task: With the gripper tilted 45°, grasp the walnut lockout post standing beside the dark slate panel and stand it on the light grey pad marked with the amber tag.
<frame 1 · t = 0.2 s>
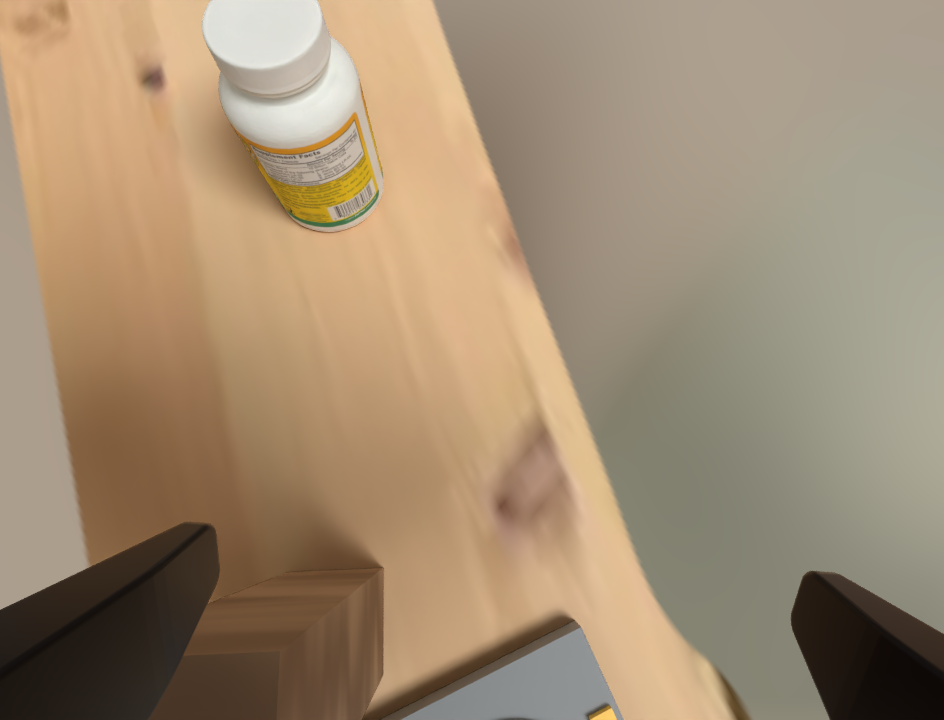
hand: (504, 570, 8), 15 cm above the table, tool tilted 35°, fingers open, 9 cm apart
lockout post: (334, 622, 21), on the table
supplement bottle: (334, 190, 27), on the table
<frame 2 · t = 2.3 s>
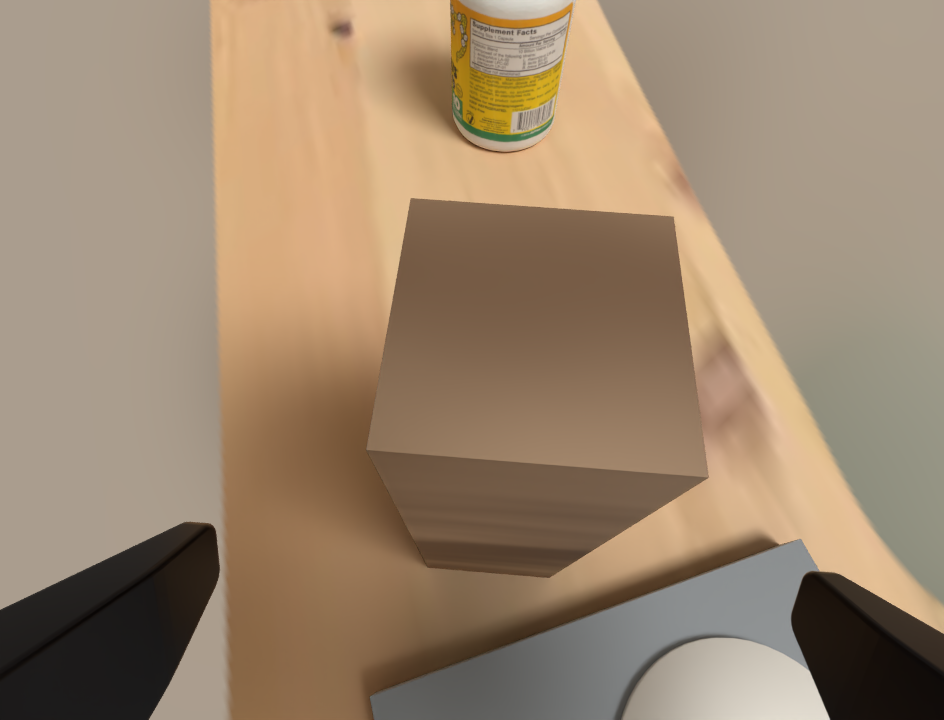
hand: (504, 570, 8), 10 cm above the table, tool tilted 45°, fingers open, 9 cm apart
lockout post: (491, 510, 18), on the table
supplement bottle: (502, 122, 28), on the table
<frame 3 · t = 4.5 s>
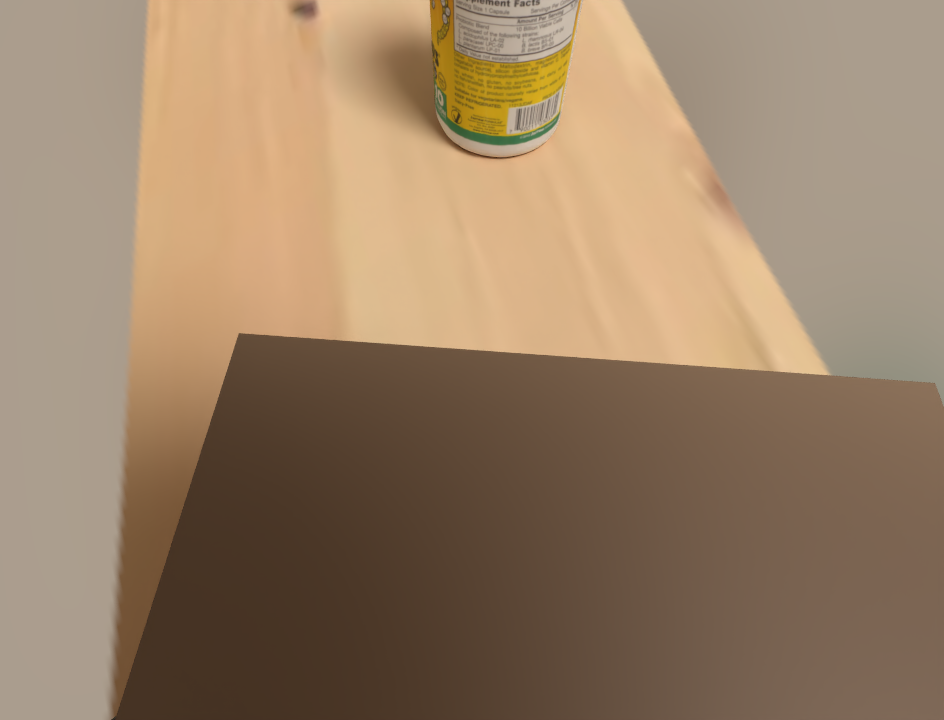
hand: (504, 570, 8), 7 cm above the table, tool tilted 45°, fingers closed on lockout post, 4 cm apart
lockout post: (482, 655, 13), on the table, touching gripper
supplement bottle: (497, 121, 23), on the table
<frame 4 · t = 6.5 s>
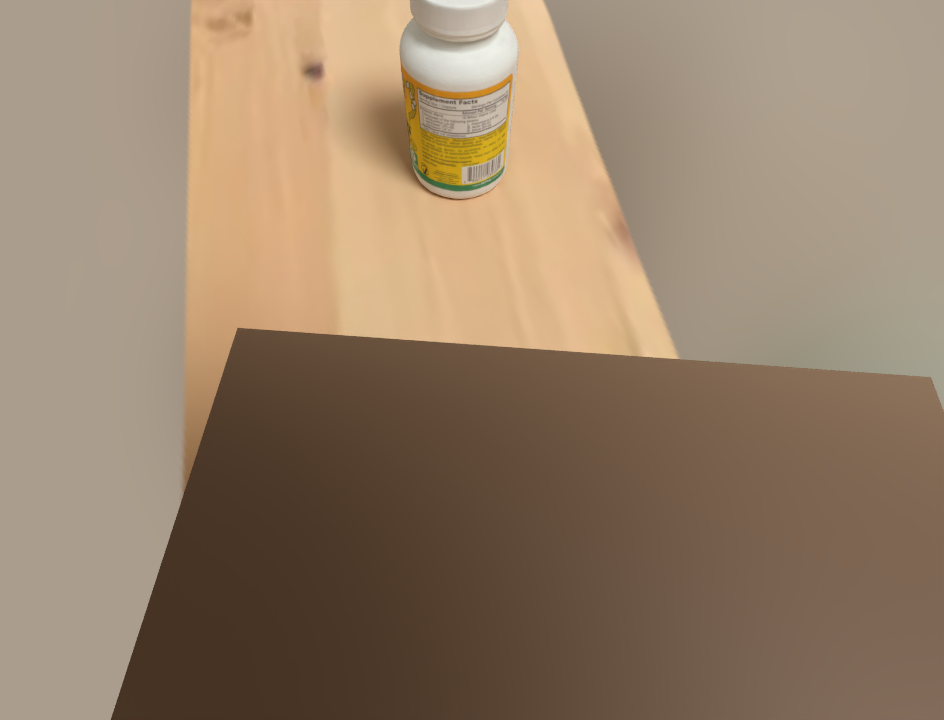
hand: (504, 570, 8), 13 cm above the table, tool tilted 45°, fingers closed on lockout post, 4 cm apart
lockout post: (482, 654, 13), point 6 cm above the table, touching gripper
supplement bottle: (459, 168, 29), on the table
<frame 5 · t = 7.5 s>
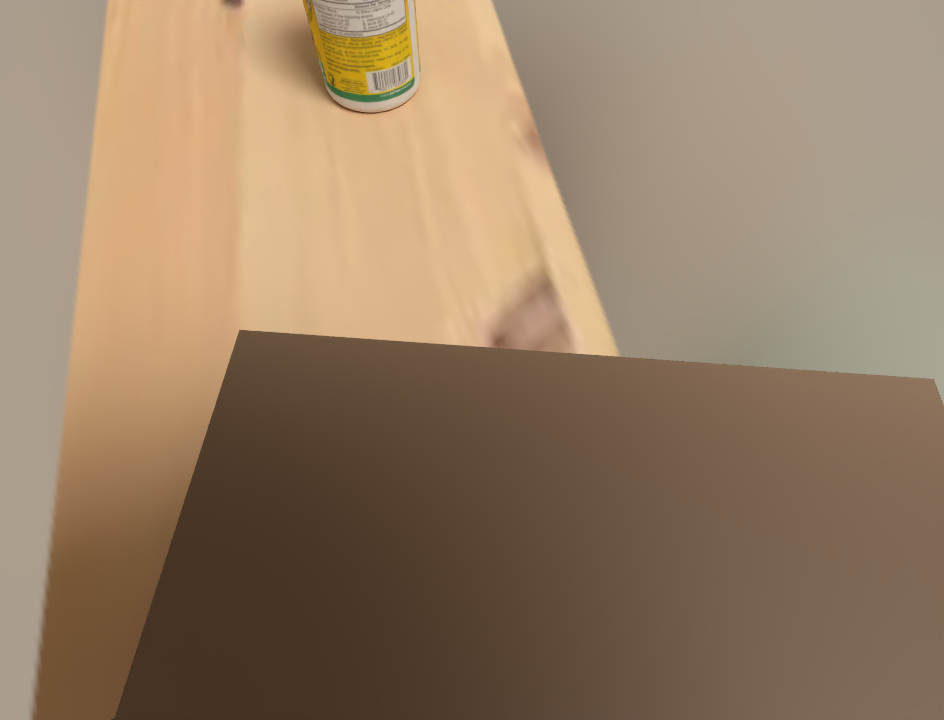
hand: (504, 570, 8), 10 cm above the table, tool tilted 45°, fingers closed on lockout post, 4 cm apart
lockout post: (482, 655, 13), point 4 cm above the table, touching gripper
supplement bottle: (374, 86, 29), on the table
when the fingers open (9 cm above the table, at t = 8.4 s): lockout post drops 1 cm, resting on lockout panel.
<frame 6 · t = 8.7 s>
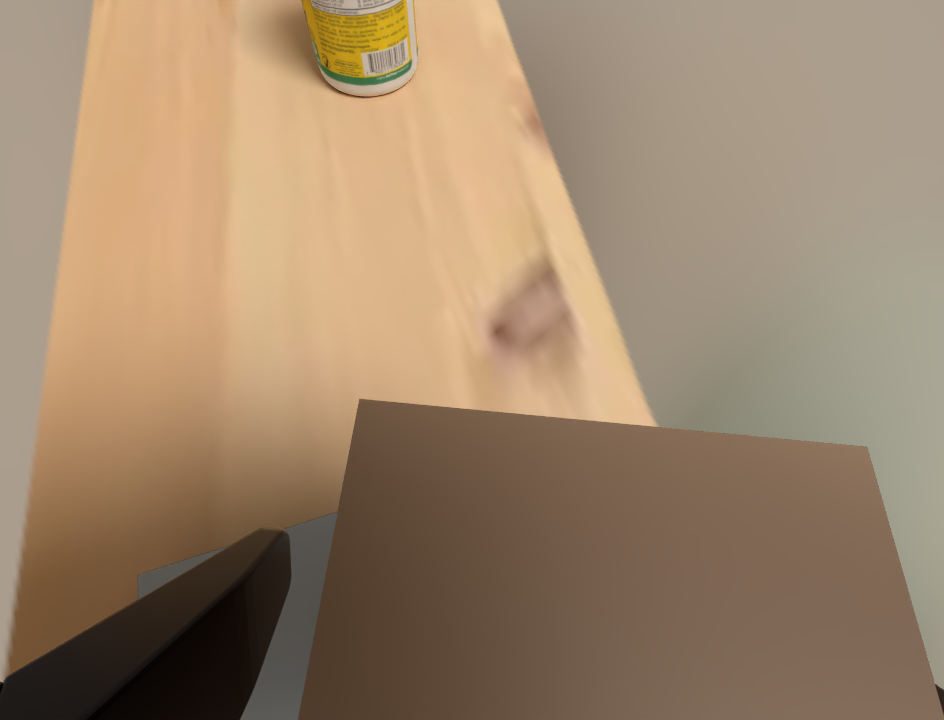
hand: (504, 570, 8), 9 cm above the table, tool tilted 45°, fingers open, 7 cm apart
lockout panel: (424, 712, 15), on the table
lockout post: (480, 652, 14), point 2 cm above the table, touching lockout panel
supplement bottle: (370, 70, 28), on the table
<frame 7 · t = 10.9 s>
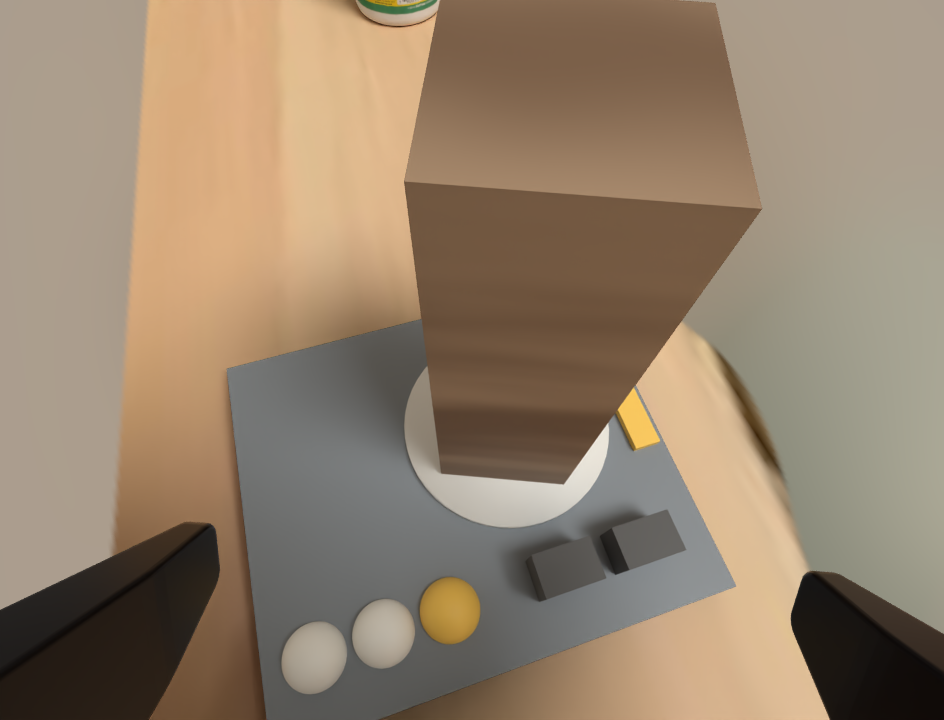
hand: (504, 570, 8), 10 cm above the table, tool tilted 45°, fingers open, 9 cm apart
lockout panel: (459, 477, 18), on the table
lockout post: (505, 421, 18), point 1 cm above the table, touching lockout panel
supplement bottle: (400, 6, 32), on the table
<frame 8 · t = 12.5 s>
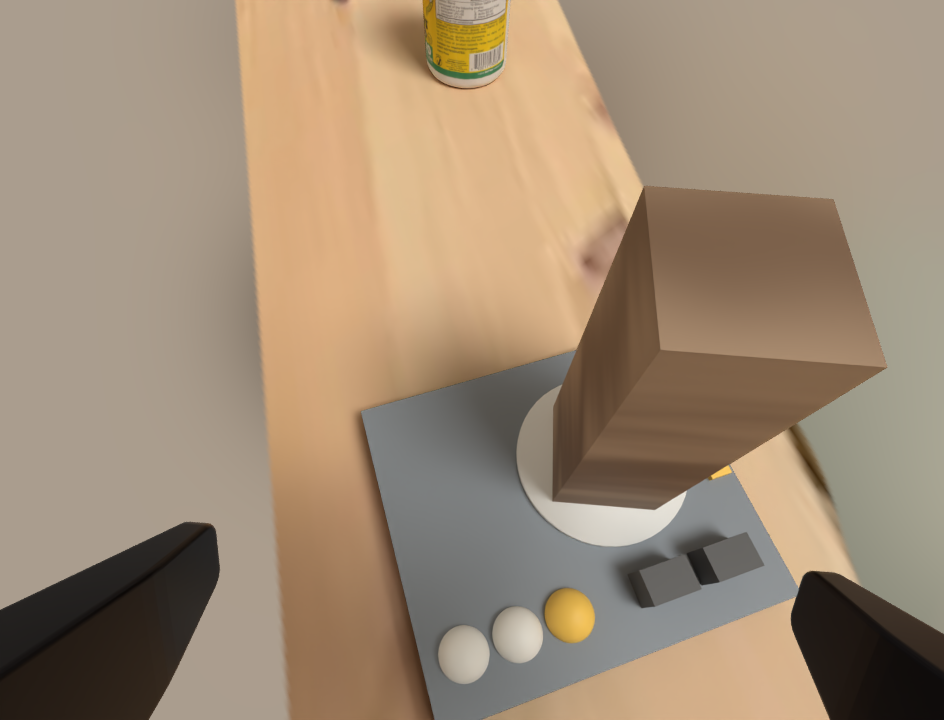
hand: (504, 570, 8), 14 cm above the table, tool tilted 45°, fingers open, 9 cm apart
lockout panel: (560, 502, 22), on the table
lockout post: (601, 456, 21), point 1 cm above the table, touching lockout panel
supplement bottle: (466, 68, 35), on the table
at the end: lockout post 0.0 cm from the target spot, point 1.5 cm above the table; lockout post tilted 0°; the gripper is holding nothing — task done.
